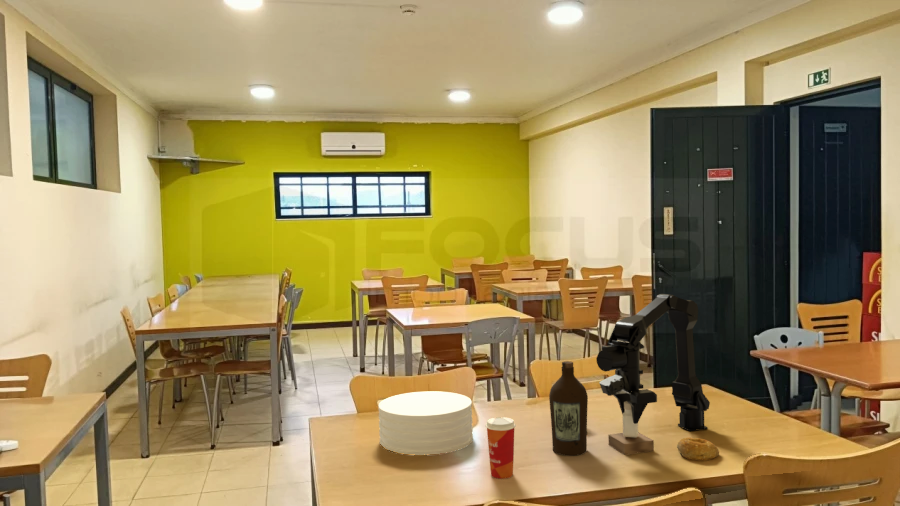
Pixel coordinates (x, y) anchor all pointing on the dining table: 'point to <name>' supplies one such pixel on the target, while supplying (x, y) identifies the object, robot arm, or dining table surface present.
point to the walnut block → (631, 443)
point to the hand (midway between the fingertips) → (630, 420)
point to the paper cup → (501, 446)
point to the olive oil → (568, 413)
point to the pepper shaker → (629, 422)
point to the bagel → (697, 449)
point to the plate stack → (425, 422)
